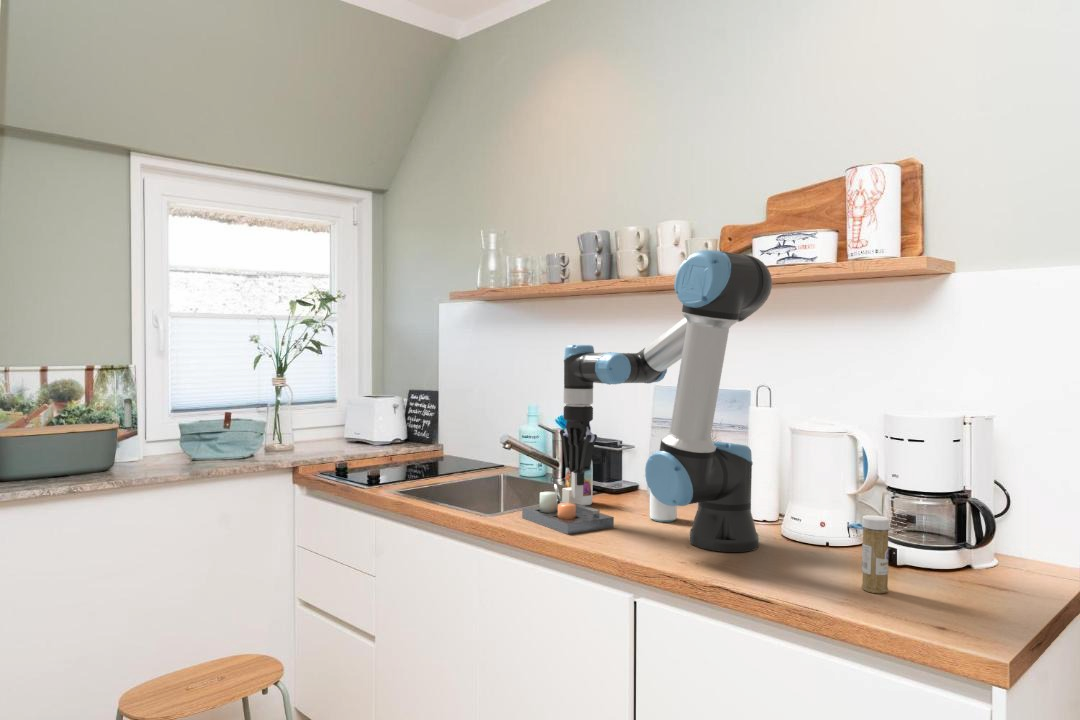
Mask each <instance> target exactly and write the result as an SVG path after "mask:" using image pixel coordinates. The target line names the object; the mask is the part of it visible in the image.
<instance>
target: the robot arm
mask: <svg viewBox="0 0 1080 720" xmlns="http://www.w3.org/2000/svg"><path fill="white" fill-rule="evenodd" d="M772 285H773V280H772V275H771V271H770V270H769V268H768V266H767V265H766V264H765V263H764V262H763V261H761V260H760V259H759V258H757V257H755V256H752V255H749V254H738V253H733V252H727V251H721V250H718V249H715V250H713V249H711V250H707V249H706V250H705V249H704V250H703V249H702V250H697V251H695V252H693V253H691V254H690V255H689V256H688V257H687V258H685V259H684V260H683V261H682V262H681V264H680V266H678V269H677V270H676V274H675V278H674V291H675V293H676V294H677V296H676V297H677V299H678V301H680V302H681V304H682V306H681V307H682V308H681V314H682V316H683V318H681V320H679V321H678V322H676V323H675V324H674V325H673V326H671V327H670V328H669V329H667V330H666V331H665V332H664V333H662V334H661V335H659V336H658V337H657V338H656V339H655V340H653V341H652V342H651V343H649V344H648V345H647V346H646V347H644V348H642V349H641V350H639V351H638V352H635V353H634V352H626V353H625V352H611V351H610V352H595V348H594V345H591V344H568V345H566V347H564V359H563V385H564V386H563V404H564V406H563V420H564V421H566V424H565V428H564V429H562V430H561V429H560V431H559V435H560V438H561V441H562V442H561V443H562V444H561V445H562V449H563V450H562V452H563V458H564V466H565V469H566V468H569V470H570V471H571V498H583V485H584V473H585V471H589V470H590V467H591V461H592V462H593V455H594V448H595V443H596V440H597V439H598V436H597V434H593V433H592V430H591V424H590V422H592V421H593V420H594V407H593V406H592V405H593V404H594V384H606V385H621V384H653V383H658V382H661V381H662V380H663V379H664V378H665V376H666V374H667V372H668V369H669V368H670V367H672V366H673V365H674V364H676V363H677V362H678V361H681V362H680V366H679V372H678V373H679V374H678V377H677V378H678V379H677V385H676V390H675V397H674V404H673V410H672V417H671V422H670V428H669V431H668V432H667V433H666V434H664V435H663V436H662V437H661V439H660V445H659V451H655V452H654V453H652V454H651V455H650V456H649V457H648V458H647V460H646V463H645V467H644V473H645V474H644V477H645V481H646V484H647V487H648V489H649V491H650V490H651V493H652V494H653V496H654V497H655V498H656V499H657V500H658V501H659V502H661V503H663V504H665V505H668V506H677V507H686V506H687V505H692V504H697V510H696V513H695V516H694V519H693V521H692V522H693V523H692V527H691V528H690V530H689V542H690V544H691V545H693V546H695V547H697V548H700V549H704V550H708V551H713V552H720V553H721V552H722V553H745V552H751V551H754V550H757V549H758V548H759V542H760V541H759V540H760V538H759V533H758V532H757V529H756V526H755V521H754V518H753V514H752V476H753V475H752V469H753V468H752V467H753V465H754V464H753V461H752V460H753V457H752V450H751V448H750V447H749V446H748V445H746V444H740V443H730V442H724V441H723V442H722V441H715V440H712V439H711V436H712V431H713V426H714V419H715V412H716V409H717V403H718V402H717V401H718V395H719V390H720V385H721V378H722V373H723V367H724V363H725V362H724V361H725V354H726V349H727V344H728V339H729V338H728V336H729V331H730V328H731V327H732V326H733V325H735V324H736V323H738V322H739V323H740V322H743V321H744V320H746V319H748V317H750V316H752V315H753V314H754V313H756V312H757V311H758V310H759V309H761V308H762V306H764V304H765V303H766V301H768V299H769V296H770V294H771V293H772V292H771V291H772V288H773V286H772Z"/></svg>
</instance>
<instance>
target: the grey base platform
mask: <svg viewBox="0 0 1080 720" xmlns="http://www.w3.org/2000/svg"><path fill="white" fill-rule="evenodd" d="M553 488H554V492H556V493H557V512H553V513H544V512H540V505H539V506H537V505H536V506H531V507H530V506H528V507H522V509H521V510H522V511H521V513H522V514H521V518H522V519H524V520H527V521H530V522H533V523H535V524H537V525H541V526H543V527H545V528H546V527H547V528H549V529H552V530H555V531H557V532H559V533H562V534H565V535H572V534H573V535H575V534H578V533H579V534H580V533H586V532H592V531H599V530H604V529H611V528H614V527H615V526H614V525H615V524H614V519H615V517H614V516H611V515H607V514H605V513H602V512H600V509H596V508H593V507H590V506H588V505H586V506H584V505H580V504H577V503H573V504H575V505H576V519H569V520H562V519H559V518H558V504H560V503H564V502H562V497H561V495H560V494H561V493H560V490H559V485H558V484H556V483H555V484H553Z"/></svg>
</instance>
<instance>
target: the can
mask: <svg viewBox="0 0 1080 720" xmlns="http://www.w3.org/2000/svg"><path fill="white" fill-rule="evenodd" d="M648 508H649V512H648V513H649V516H648V517H649V518H651V519H652V521H655V522H659V523H660V522H661V523H670V522H671V523H672V522H674V520H677V518H678V506H668V505H665V504H663V503H661V502H659V501H658V500H657V499H656V498H655V497H654V496H653V494H652V493H651V490H650V489H649V507H648Z"/></svg>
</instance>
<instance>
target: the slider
mask: <svg viewBox="0 0 1080 720" xmlns="http://www.w3.org/2000/svg"><path fill="white" fill-rule="evenodd" d="M561 500H562V502H564V503H581V502H582V498H571V487H570V488H565V487H563V488H562V489H561Z"/></svg>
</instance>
